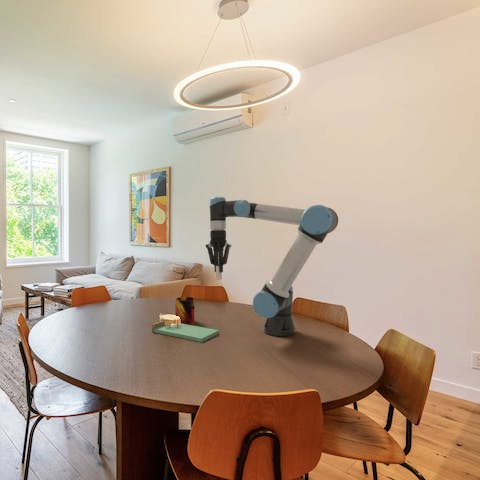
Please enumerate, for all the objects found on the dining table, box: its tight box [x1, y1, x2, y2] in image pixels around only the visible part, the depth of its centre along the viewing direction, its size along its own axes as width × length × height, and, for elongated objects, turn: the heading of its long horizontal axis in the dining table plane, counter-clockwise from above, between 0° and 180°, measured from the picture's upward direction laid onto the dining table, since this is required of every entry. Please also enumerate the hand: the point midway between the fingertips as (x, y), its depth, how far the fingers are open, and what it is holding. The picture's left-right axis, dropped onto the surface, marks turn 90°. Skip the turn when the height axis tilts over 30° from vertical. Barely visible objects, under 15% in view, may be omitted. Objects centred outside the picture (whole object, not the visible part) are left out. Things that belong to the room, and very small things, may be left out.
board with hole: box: [151, 320, 220, 343], centre depth 159 cm, size 28×14×4 cm, turn 62°
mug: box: [174, 296, 195, 325], centre depth 177 cm, size 10×14×12 cm
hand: (218, 279), depth 163 cm, fingers closed
